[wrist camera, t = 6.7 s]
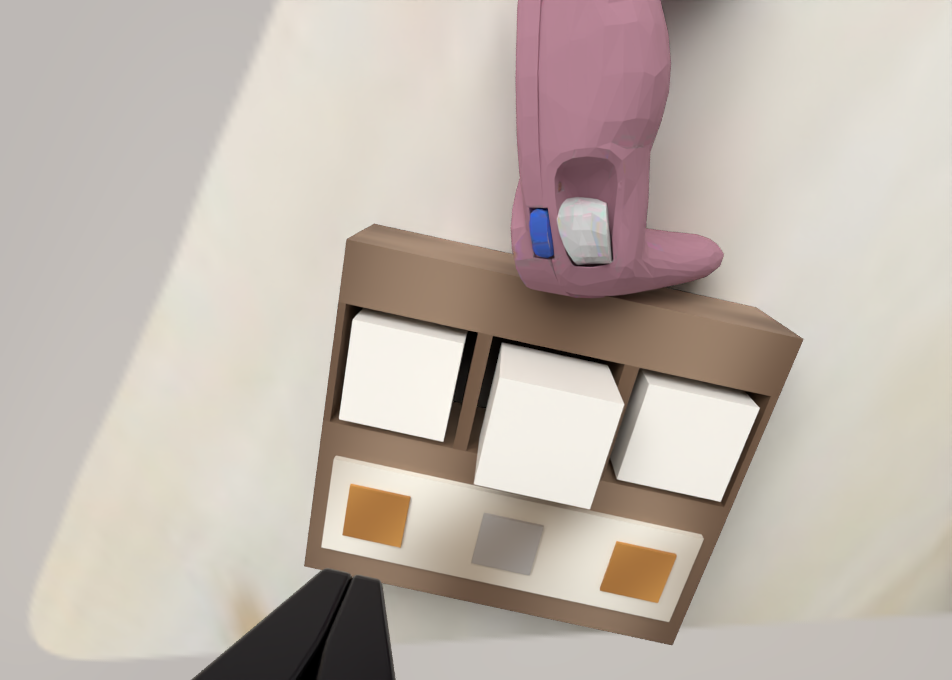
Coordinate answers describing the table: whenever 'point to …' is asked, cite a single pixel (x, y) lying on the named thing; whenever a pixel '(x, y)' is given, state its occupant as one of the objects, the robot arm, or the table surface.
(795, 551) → the table surface
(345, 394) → the key
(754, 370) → the keypad
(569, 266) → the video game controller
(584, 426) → the key middle
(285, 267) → the table surface
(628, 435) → the key
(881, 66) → the table surface
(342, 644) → the robot arm
